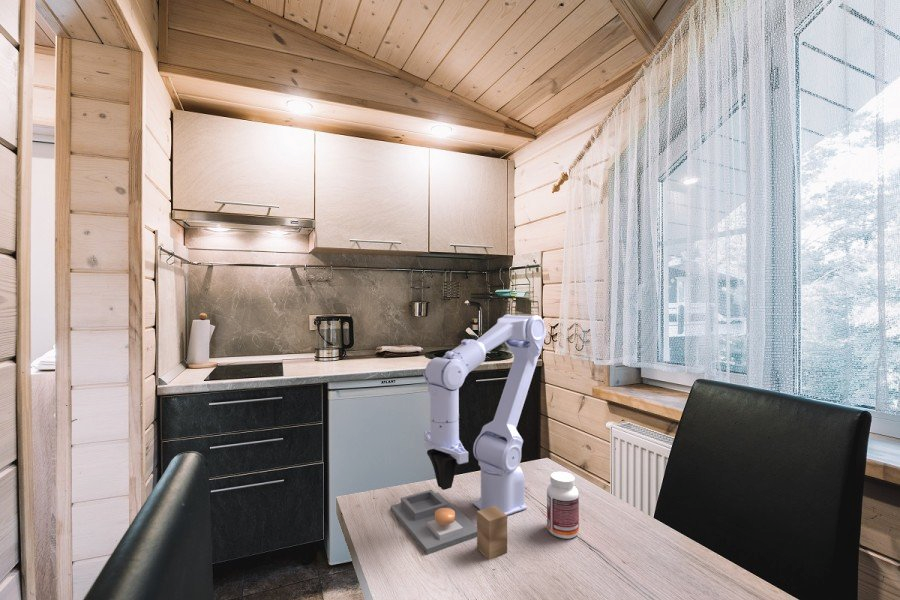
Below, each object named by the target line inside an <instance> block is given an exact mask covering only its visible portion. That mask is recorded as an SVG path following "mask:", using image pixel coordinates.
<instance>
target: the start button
mask: <svg viewBox="0 0 900 600" xmlns="http://www.w3.org/2000/svg"><path fill="white" fill-rule="evenodd" d="M435 521H436V522H437V523H439V524H443V525H446V524H451V523H453V522H454V521H455V511H454V510H452V509H450V508H440V509H438V510H436V511H435Z"/></svg>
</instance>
